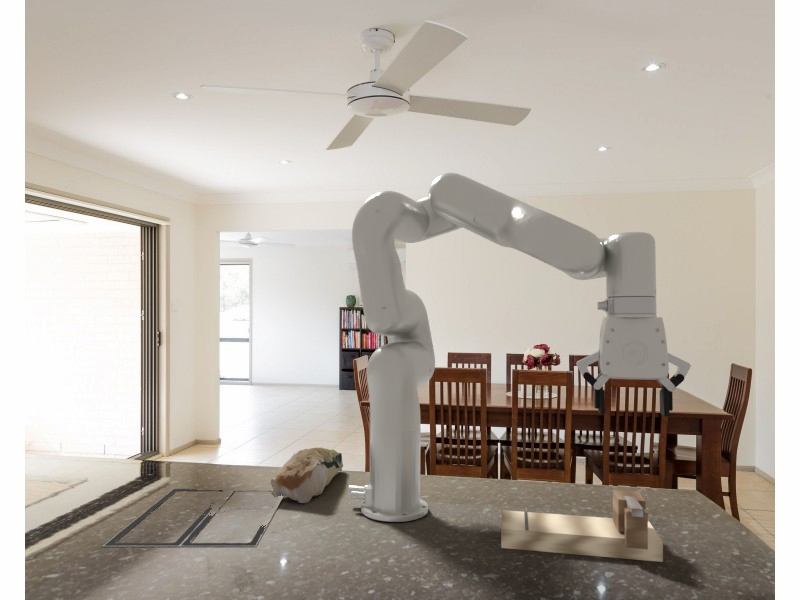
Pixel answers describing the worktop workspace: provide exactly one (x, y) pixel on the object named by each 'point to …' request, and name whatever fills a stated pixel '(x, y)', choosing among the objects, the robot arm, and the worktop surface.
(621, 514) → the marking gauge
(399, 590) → the worktop surface
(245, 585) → the worktop surface
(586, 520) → the birch board
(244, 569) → the worktop surface
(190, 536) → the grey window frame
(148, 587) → the worktop surface
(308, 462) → the mineral
